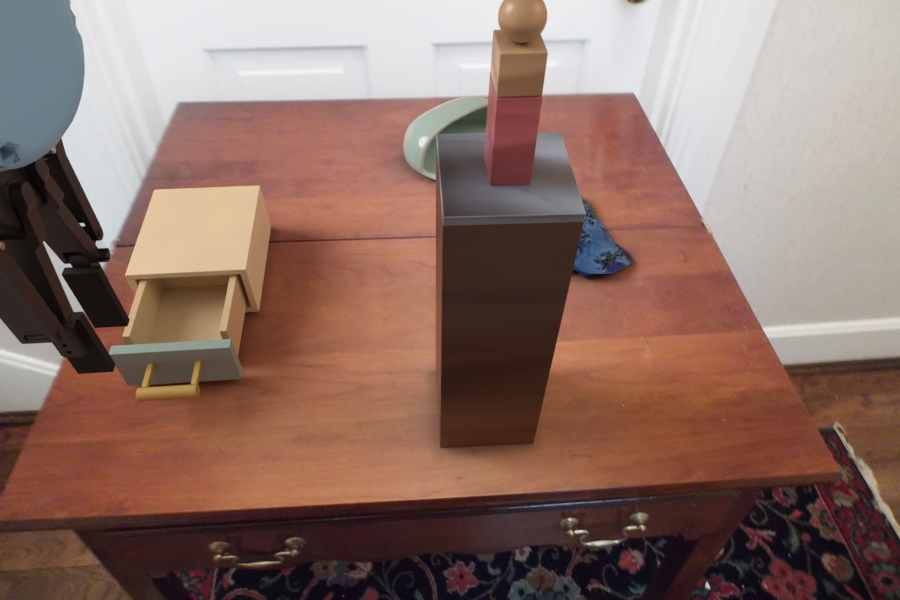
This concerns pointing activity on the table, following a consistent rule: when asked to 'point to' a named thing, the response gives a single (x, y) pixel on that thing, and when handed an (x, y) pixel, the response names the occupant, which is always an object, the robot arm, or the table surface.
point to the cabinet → (204, 237)
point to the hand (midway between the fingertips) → (104, 345)
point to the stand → (500, 288)
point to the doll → (515, 91)
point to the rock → (598, 248)
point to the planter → (442, 130)
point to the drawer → (182, 335)
